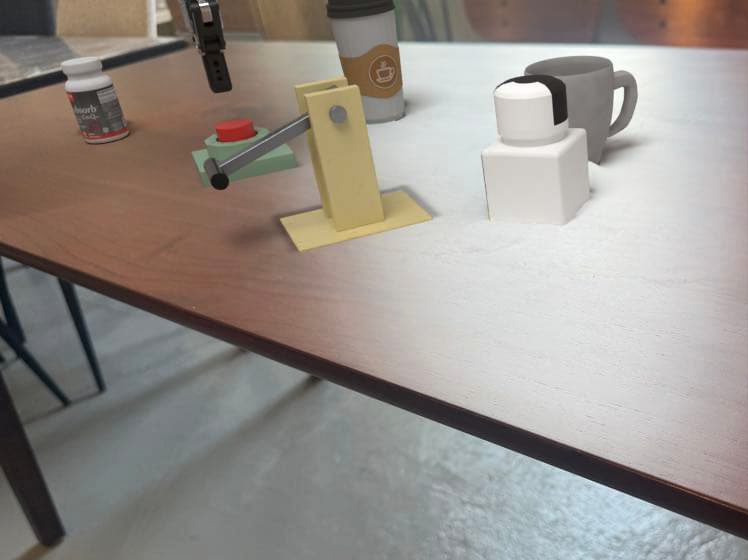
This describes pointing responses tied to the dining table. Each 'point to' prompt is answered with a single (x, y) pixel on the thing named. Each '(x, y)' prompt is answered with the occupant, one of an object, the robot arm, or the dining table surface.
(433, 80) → the dining table surface
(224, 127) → the button
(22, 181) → the dining table surface
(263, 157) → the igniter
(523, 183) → the medicine bottle
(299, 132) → the lever
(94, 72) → the pill bottle
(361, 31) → the coffee cup
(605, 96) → the mug
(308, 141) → the lever bracket
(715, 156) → the dining table surface
